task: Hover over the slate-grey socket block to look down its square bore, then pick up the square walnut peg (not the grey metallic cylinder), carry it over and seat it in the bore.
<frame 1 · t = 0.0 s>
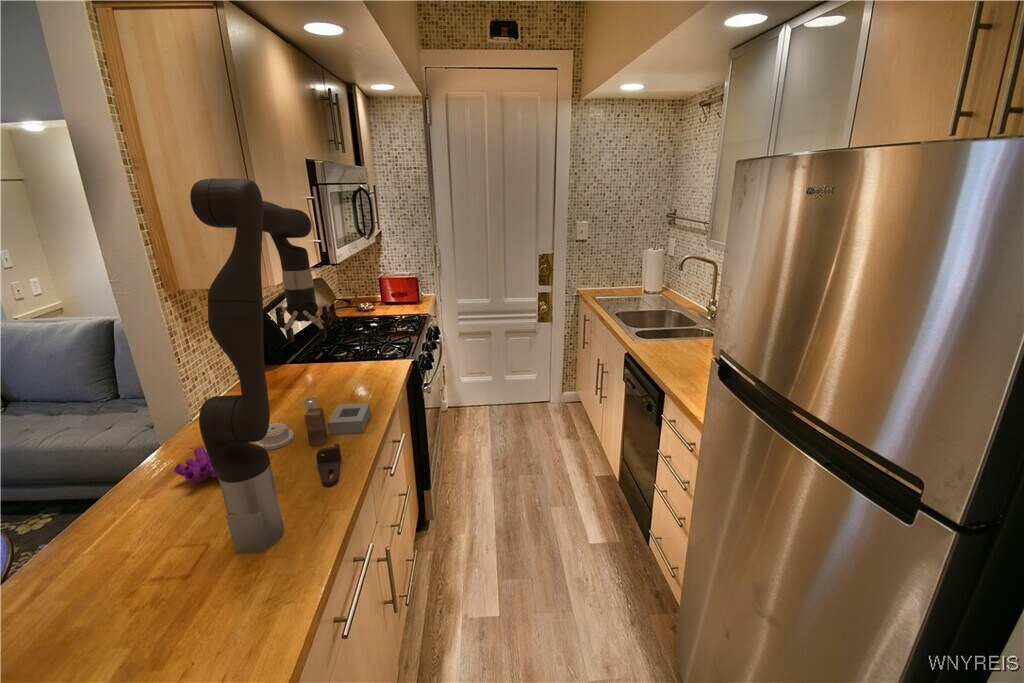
hand: (307, 340, 129), 29 cm above the worktop, fingers open, 8 cm apart
socket block: (351, 423, 142), on the worktop
grey metallic cylinder: (313, 422, 143), on the worktop
walnut peg: (318, 441, 132), on the worktop
bracket: (328, 474, 118), on the worktop
mechanical component: (275, 442, 133), on the worktop
purple coral piece: (211, 476, 117), on the worktop
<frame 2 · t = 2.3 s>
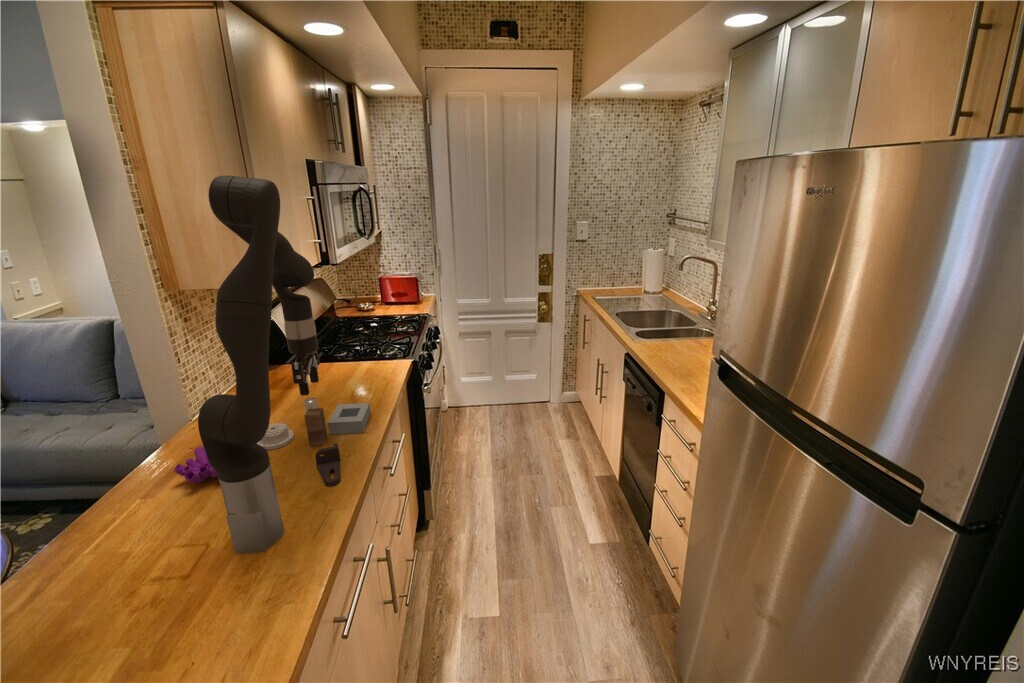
hand: (310, 388, 126), 17 cm above the worktop, fingers open, 8 cm apart
nothing on the worktop moved.
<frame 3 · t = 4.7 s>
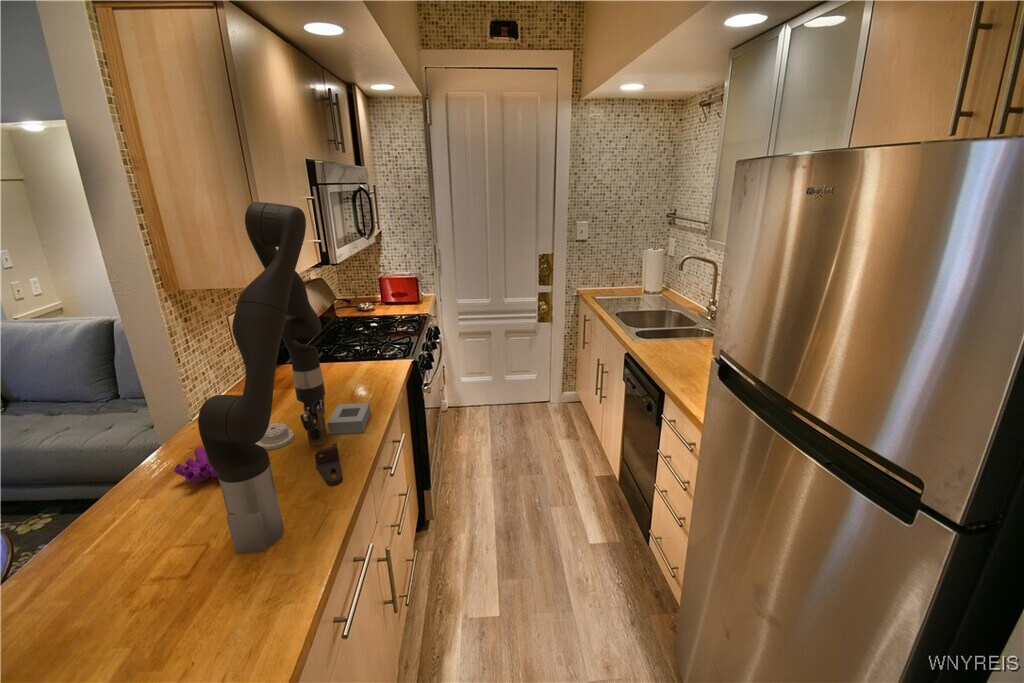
hand: (317, 435, 131), 2 cm above the worktop, fingers closed on walnut peg, 4 cm apart
walnut peg: (318, 441, 132), on the worktop, touching gripper
everything else where it was.
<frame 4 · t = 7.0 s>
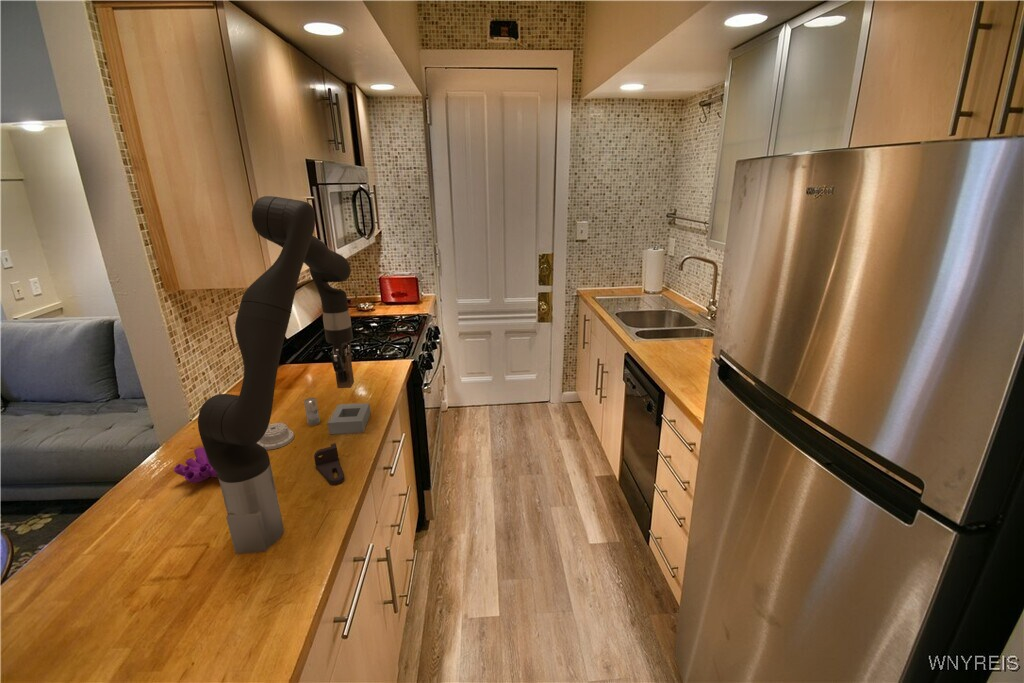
hand: (345, 378, 137), 16 cm above the worktop, fingers closed on walnut peg, 4 cm apart
walnut peg: (345, 385, 138), point 13 cm above the worktop, touching gripper
everything else where it was.
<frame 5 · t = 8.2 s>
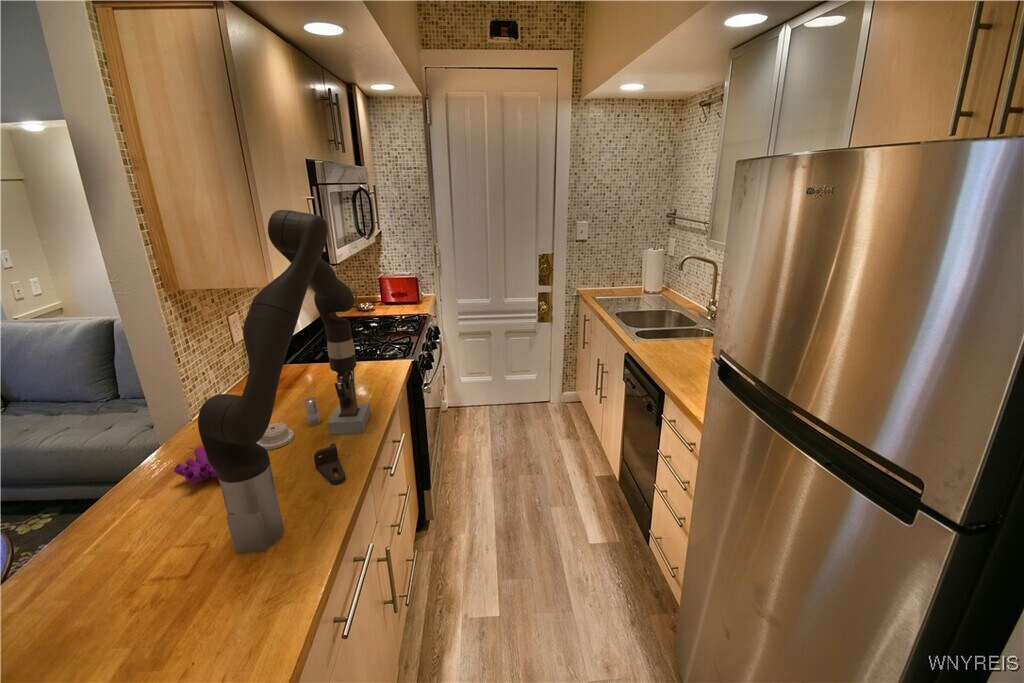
hand: (348, 404, 140), 7 cm above the worktop, fingers closed on walnut peg, 4 cm apart
walnut peg: (349, 410, 141), point 5 cm above the worktop, touching gripper
everything else where it was.
when the fingers open (5 cm above the worktop, at t = 9.3 s): walnut peg drops 2 cm, resting in socket block.
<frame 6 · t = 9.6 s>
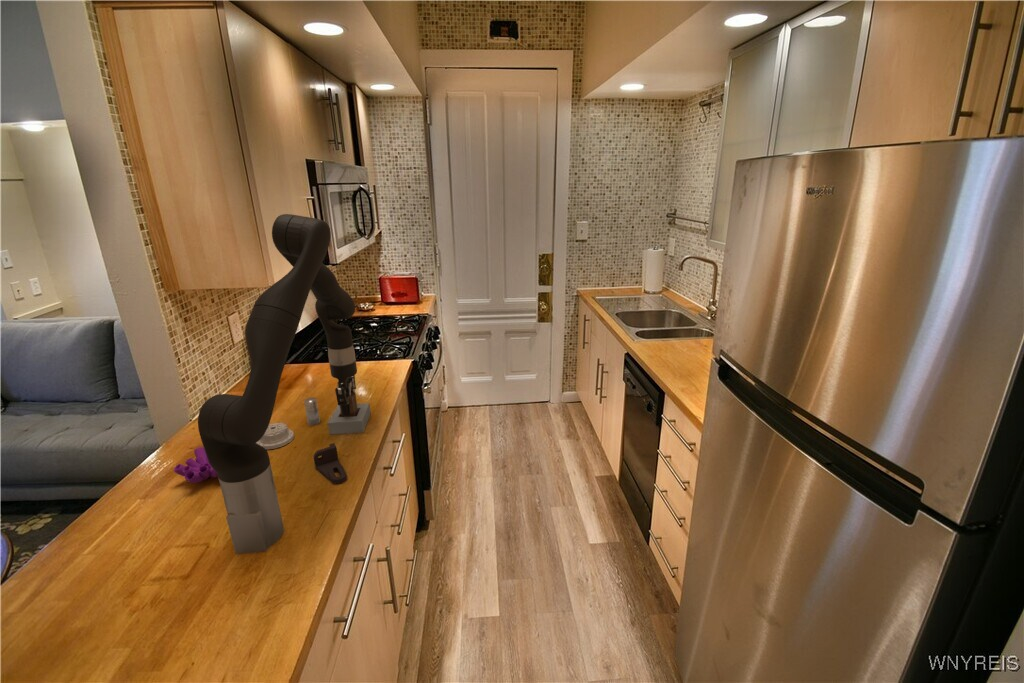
hand: (349, 409, 140), 5 cm above the worktop, fingers open, 6 cm apart
walnut peg: (350, 423, 142), resting in socket block
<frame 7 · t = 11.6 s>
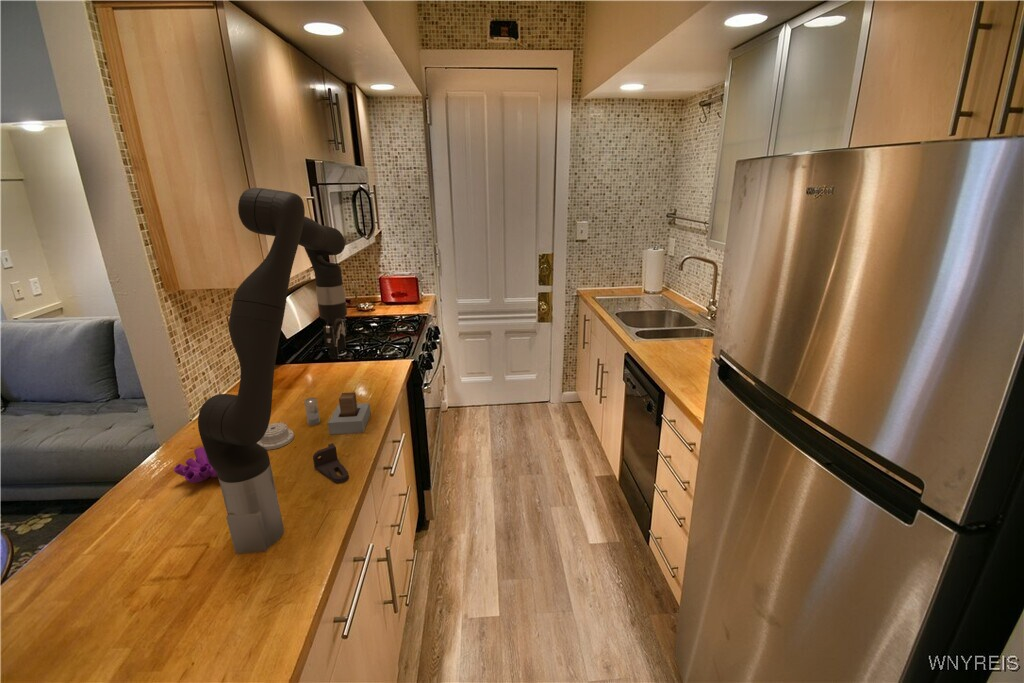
hand: (338, 353, 133), 24 cm above the worktop, fingers open, 8 cm apart
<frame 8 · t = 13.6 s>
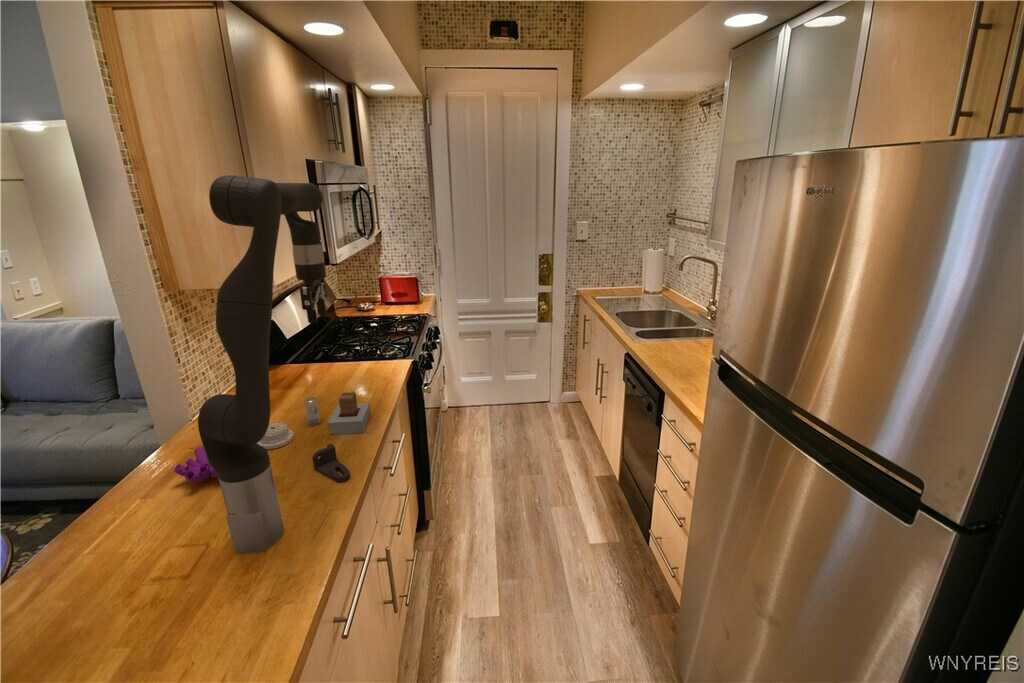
hand: (317, 318, 126), 36 cm above the worktop, fingers open, 8 cm apart
at the end: walnut peg 0.1 cm off-centre on the socket block, point 0.0 cm above the socket block's base; walnut peg tilted 0°; the gripper is holding nothing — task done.
